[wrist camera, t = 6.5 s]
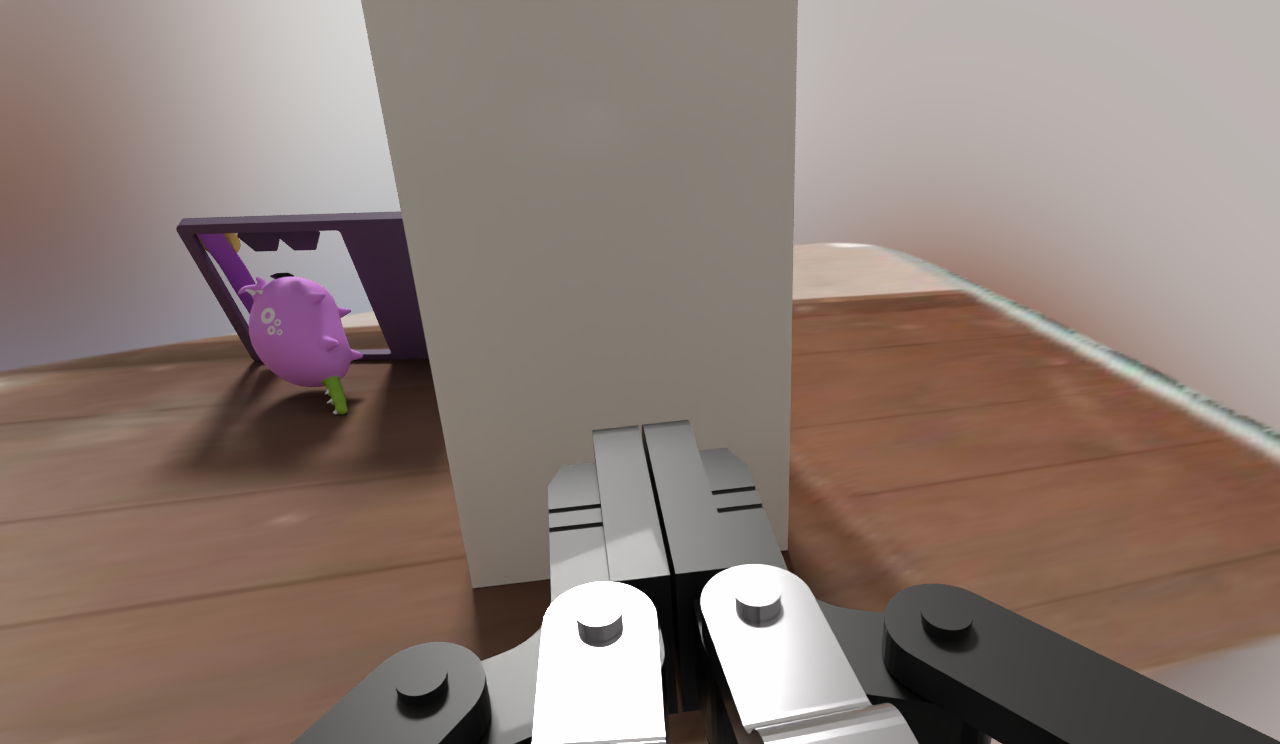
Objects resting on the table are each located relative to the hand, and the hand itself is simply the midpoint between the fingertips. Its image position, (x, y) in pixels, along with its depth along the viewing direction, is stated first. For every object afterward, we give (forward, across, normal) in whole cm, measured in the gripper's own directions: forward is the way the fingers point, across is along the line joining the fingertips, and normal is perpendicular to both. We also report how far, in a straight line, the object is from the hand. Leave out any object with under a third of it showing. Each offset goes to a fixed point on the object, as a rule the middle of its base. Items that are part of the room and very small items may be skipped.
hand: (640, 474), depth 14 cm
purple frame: (+18, +9, +7) cm, 22 cm away
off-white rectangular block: (+8, 0, +7) cm, 10 cm away
